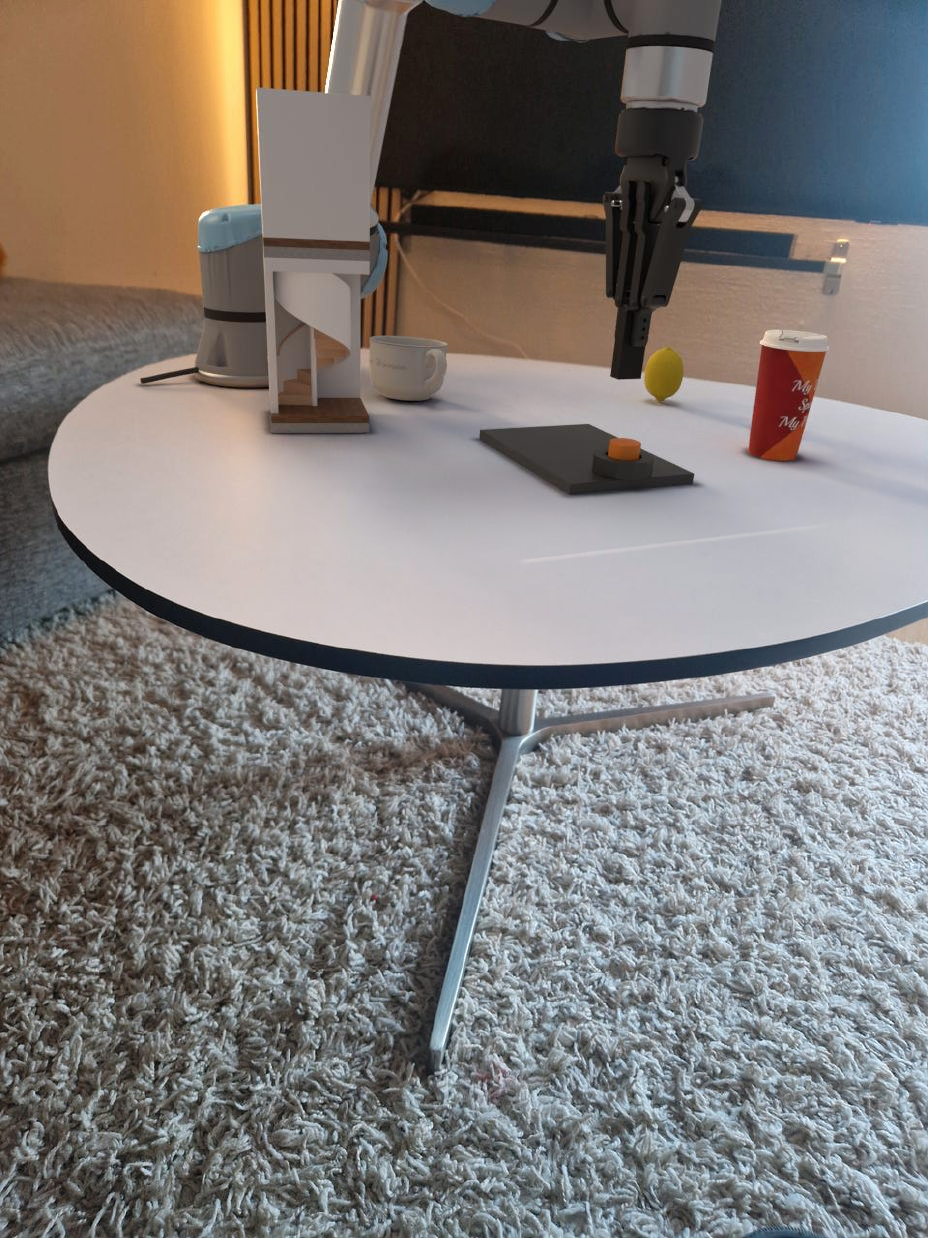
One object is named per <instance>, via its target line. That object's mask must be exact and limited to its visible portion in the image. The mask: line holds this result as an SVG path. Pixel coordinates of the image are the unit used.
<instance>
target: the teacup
mask: <svg viewBox="0 0 928 1238" xmlns="http://www.w3.org/2000/svg"><path fill="white" fill-rule="evenodd" d="M368 341H369V355H368V357H369V359H368V362H369V363H368V370H369V379H370V382H371V384H372V386H373V387H374V388H375V389H377V391H378V392H379V393H380V395H382V396H383V397H385V398H388V399H393V400H398V401H399V400H400V401H411V402H412V401H413V402H414V401H427V400H429V399H430V398H432V396H433V395H435V394H436V393H438V392H439V390H441V388H442V386H443V384H444V381H445V380H444V379H445V376H446V373H447V368H448V361H447V352H448V351H447V350H448V348H449V344H448V343H447V342H444V341H442V340H438V339H431V338H423V337H418V336H417V337H416V336H406V335H405V336H404V335H402V336H401V335H374V336H370V337H369V338H368Z"/></svg>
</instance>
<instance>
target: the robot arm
mask: <svg viewBox="0 0 928 1238" xmlns="http://www.w3.org/2000/svg"><path fill="white" fill-rule="evenodd" d="M424 1H425V2H426V3H427V4H428V5H430V6H431V7H433V8H435V9H438V10H442V11H446V12H448V13H449V14H452V15H457V16H459V17H462V18H471V17H474V18H480V19H484V20H485V19H486V20H492V21H498V22H504V23H510V24H515V25H516V24H517V25H520V26H522V27H527V28H532V29H537V30H543V31H544V32H545V34H547V35H548V36H549V37H550V38H551V39H553V40H557V41H561V42H562V41H565V42H567V41H568V42H569V41H570V42H571V41H572V42H577V43H586V42H589V41H590V40H596V39H604V38H605V39H606V38H613V37H620V36H627V42H626V51H625V58H624V65H623V74H622V82H621V89H620V98H619V100H620V101H621V102H622V104H625V109H622V110H621V111H620V113H619V114H618V119H617V126H616V127H617V128H616V136H615V143H614V152H615V154H616V155H617V156H618V157H623V158H624V165H623V169H622V171H621V173H620V177H619V186H617V188H616V189H615V191H605V192H604V193H603V195H602V204H603V210H604V216H605V296H606V298H607V299H613V301H614V306H615V307H616V308H617V312H616V320H615V326H614V327H615V329H614V343H613V351H612V359H611V365H610V374H609V377H610V378H612V379H615V380H618V381H619V380H620V381H621V380H641V379H642V373H643V366H644V360H645V354H646V353H645V352H646V347H647V344H648V342H649V333H650V328H651V321H652V316H653V313H654V312H655V311H656V310H657V309H660V308H666V307H668V306H669V303H670V301H671V297H672V293H673V291H674V287H675V283H676V280H677V277H678V273H679V271H680V265H681V262H682V259H683V257H684V253H685V249H686V246H687V242H688V239H689V235H690V233H691V229H692V226H693V225H694V224H695V222H696V219H697V218H698V215H699V213H700V212H701V209H702V205H703V204H702V200H701V199H700V198H695V197H694V198H693V197H691V196H690V194H689V193H688V191H687V189H686V188H687V185H688V176H687V163H688V162H689V161H690V162H691V161H694V160H696V159H697V158H698V156H699V153H700V146H701V140H702V133H703V126H704V120H705V118H704V117H703V114H702V113H698V108H702V107H704V105H705V104H706V103H707V97H708V90H709V82H710V77H711V70H712V64H713V63H712V62H713V56H714V52H715V47H716V37H717V32H718V25H719V20H720V19H719V18H720V13H721V6H722V2H723V0H338V2H337V3H338V4H337V10H336V16H335V24H334V30H333V38H332V43H331V51H330V56H329V63H328V70H327V77H326V82H325V83H326V85H325V91H324V93H337V94H351V95H364V96H370V275H367V274H360V300H363V299H365V298H367V297H369V296H370V295H372V294H373V293H374V292H375V291H376V290H377V288H379V286H380V284H381V282H382V280H383V278H384V276H385V272H386V270H387V264H388V254H389V253H388V251H389V250H387V249H386V246H387V245H388V241H387V236H386V233H385V231H384V228H383V226H382V225H381V224H380V223H379V220H380V216H379V213H378V212H377V210H376V209H375V207H374V205H373V204H372V201H373V195H374V191H375V185H376V180H377V173H378V170H379V166H380V165H379V164H380V159H381V155H382V150H383V144H384V139H385V134H386V129H387V123H388V118H389V114H390V110H391V109H390V108H391V103H392V98H393V93H394V89H395V83H396V79H397V78H396V77H397V73H398V68H399V62H400V57H401V53H402V47H403V42H404V36H405V33H406V28H407V27H406V26H407V23H408V16H409V13H410V12H411V11H412V10H413V9H415V8H416V7H418V6H419V5H420V4H422V3H423V2H424ZM197 222H198V224H197V228H198V229H197V230H198V231H197V233H198V243H197V247H196V248H197V251H198V257H199V269H200V280H201V282H200V283H201V297H202V307H203V328H202V331H201V336H200V339H199V343H198V348H197V352H196V356H195V360H194V367H188V368H183V369H178V370H173V371H169V372H164V373H158V374H154V375H150V376H145V377H140V384H141V385H145V384H150V383H153V382H154V383H155V382H158V381H162V380H169V379H172V378H178V377H183V376H187V375H192V374H194V377H195V379H196V380H198V381H199V382H203V383H204V384H208V385H213V386H214V385H215V386H220V387H221V386H222V387H231V388H269V372H268V349H267V327H266V305H265V282H264V260H263V238H262V215H261V203H253V204H238V205H237V204H235V205H229V206H221V207H216V208H211V209H208V210H206V211H204V212H203V213H201V215H200V216H199V219H198V221H197Z"/></svg>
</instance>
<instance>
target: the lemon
mask: <svg viewBox="0 0 928 1238" xmlns="http://www.w3.org/2000/svg"><path fill="white" fill-rule="evenodd" d="M683 379H684V361H683V359H682V357H681V355H680V354H679V353H678V352H676V351H675V350H674V349H672V348H671V346H668V345H667V346H665V347H663V348H662V349H659V350H657V351H655V352H654V353H653V354H652V355H651V356H650V357H649V359H648V360H647V363H646V366H645V368H644V375H643V382H644V387H645V389H646V391H647V392H648V394H650V396H652V397H654V398H655V401H656V402H658V403H663V402H664V401H665V400H666V399H668V398H671V397H673V396H674V395H675V394H676V393H677V392H678V391H679V389H680V387H681V386H682V383H683Z"/></svg>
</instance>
